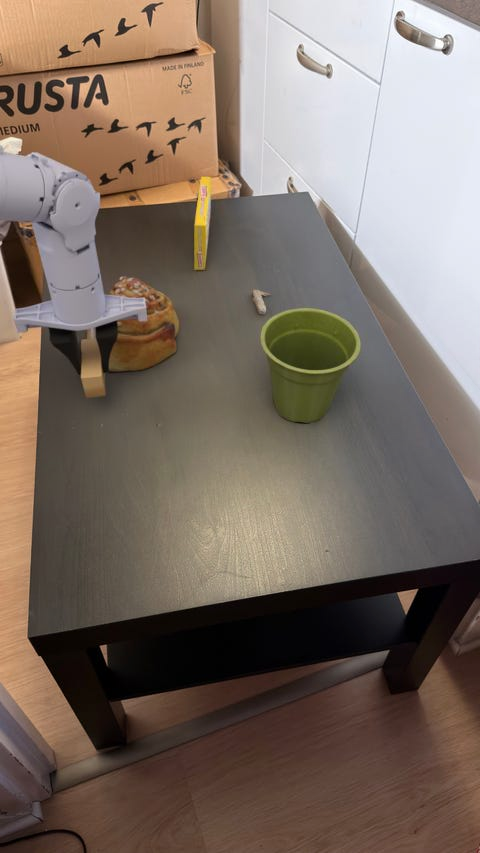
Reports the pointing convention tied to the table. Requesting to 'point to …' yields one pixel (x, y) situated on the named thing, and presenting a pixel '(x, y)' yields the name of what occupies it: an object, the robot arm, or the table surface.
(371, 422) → the table surface
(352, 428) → the table surface
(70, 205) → the robot arm
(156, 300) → the pastry
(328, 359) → the plant pot
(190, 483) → the table surface
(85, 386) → the cake knife
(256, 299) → the ginger root
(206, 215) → the candy box
